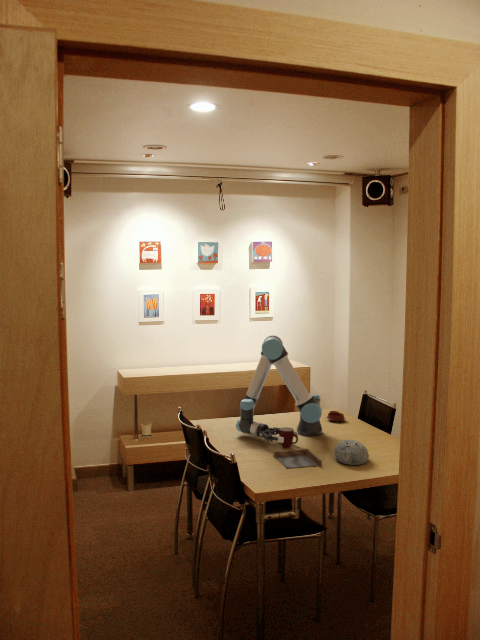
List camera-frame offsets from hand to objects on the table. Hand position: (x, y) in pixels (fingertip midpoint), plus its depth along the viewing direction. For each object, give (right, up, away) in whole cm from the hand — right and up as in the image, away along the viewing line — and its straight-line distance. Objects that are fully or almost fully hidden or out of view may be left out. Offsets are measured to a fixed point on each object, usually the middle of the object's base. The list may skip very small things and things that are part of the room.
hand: (290, 437), depth 299 cm
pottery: (+35, -1, +62) cm, 71 cm away
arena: (+1, -8, -21) cm, 23 cm away
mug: (-1, -6, +2) cm, 6 cm away
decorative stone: (+29, -8, -18) cm, 35 cm away
